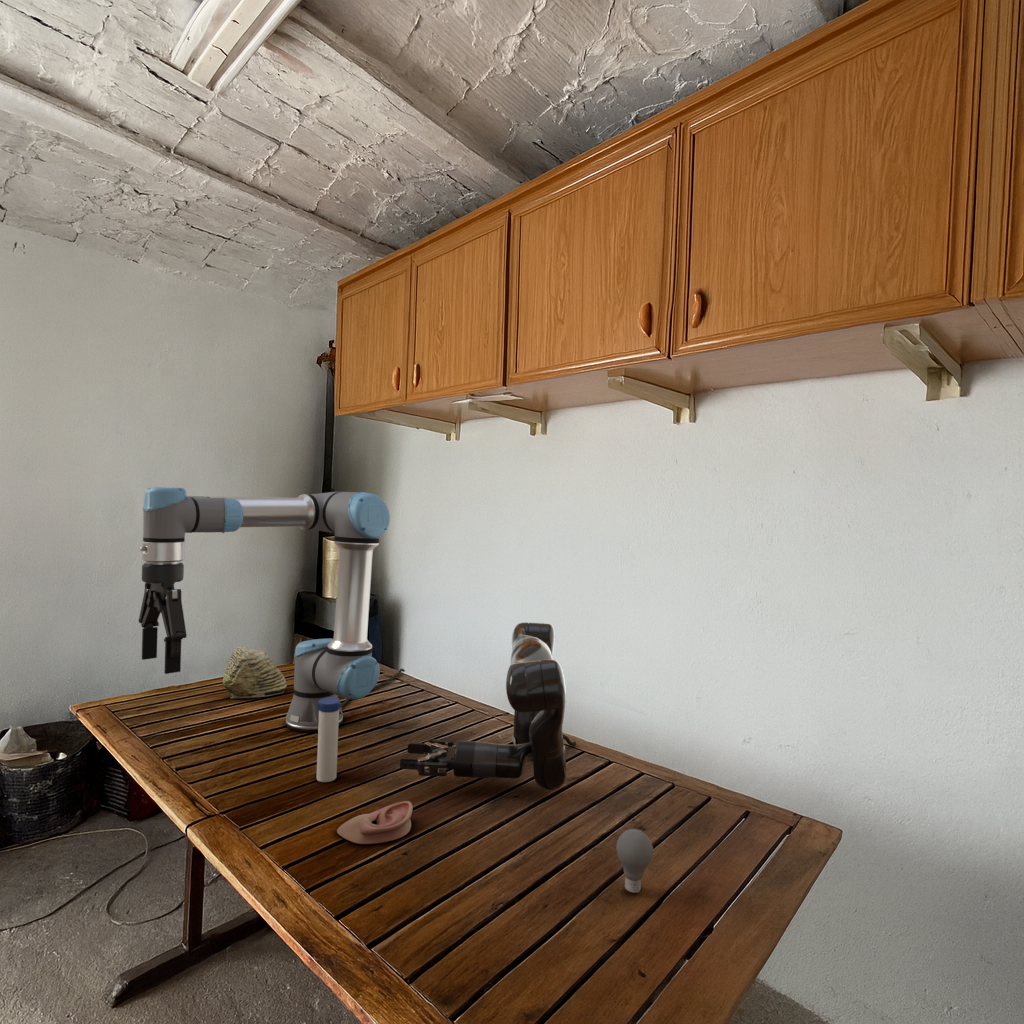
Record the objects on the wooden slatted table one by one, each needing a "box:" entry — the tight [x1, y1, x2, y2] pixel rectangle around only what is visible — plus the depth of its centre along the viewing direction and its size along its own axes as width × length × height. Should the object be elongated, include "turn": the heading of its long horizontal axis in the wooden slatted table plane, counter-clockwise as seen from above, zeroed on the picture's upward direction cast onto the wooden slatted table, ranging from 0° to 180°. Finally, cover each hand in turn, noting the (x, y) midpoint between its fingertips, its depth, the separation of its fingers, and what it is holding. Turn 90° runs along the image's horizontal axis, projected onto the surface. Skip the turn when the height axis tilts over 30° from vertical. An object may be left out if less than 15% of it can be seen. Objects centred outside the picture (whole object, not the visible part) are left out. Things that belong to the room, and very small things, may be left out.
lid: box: [318, 697, 342, 712], centre depth 142 cm, size 5×5×2 cm
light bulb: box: [615, 828, 654, 894], centre depth 106 cm, size 6×6×10 cm
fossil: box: [222, 646, 288, 699], centre depth 198 cm, size 9×18×15 cm, turn 132°
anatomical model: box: [336, 800, 414, 845], centre depth 121 cm, size 13×4×12 cm
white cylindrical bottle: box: [316, 710, 339, 783], centre depth 143 cm, size 4×4×17 cm
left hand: (160, 665), depth 130 cm, fingers open, 13 cm apart
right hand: (404, 755), depth 141 cm, fingers open, 8 cm apart
